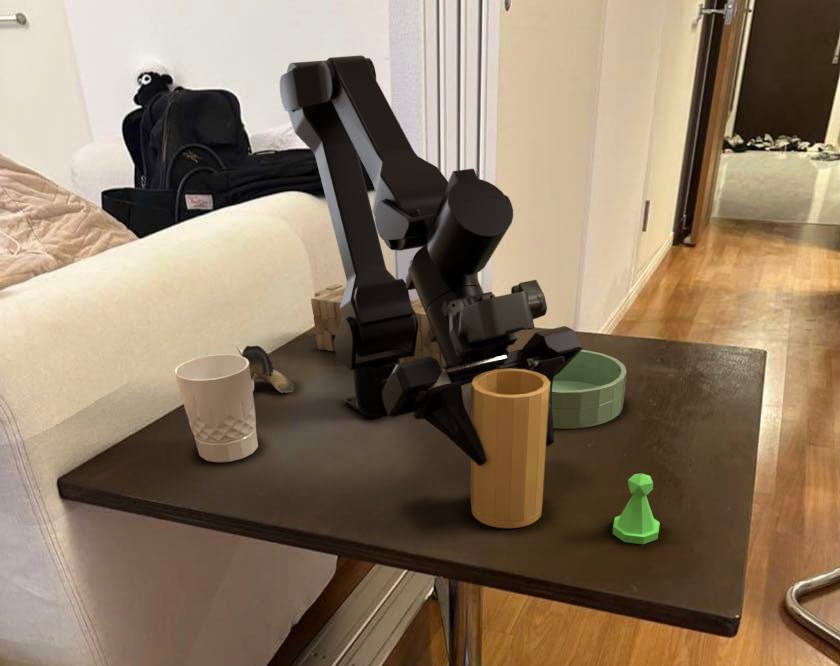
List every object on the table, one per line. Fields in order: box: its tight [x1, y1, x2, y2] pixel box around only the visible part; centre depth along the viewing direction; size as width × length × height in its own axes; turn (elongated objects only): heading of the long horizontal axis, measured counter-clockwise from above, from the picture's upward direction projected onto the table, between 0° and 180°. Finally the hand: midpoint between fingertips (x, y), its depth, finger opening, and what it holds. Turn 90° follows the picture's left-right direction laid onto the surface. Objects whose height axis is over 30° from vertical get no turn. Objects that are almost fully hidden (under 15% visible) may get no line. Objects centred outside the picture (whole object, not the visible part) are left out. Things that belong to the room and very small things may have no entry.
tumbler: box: [470, 369, 550, 529], centre depth 73 cm, size 7×7×13 cm
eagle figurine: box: [236, 345, 295, 394], centre depth 104 cm, size 8×7×9 cm
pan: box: [552, 349, 628, 430], centre depth 96 cm, size 14×14×4 cm
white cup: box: [174, 353, 259, 463], centre depth 88 cm, size 8×8×10 cm
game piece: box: [612, 473, 660, 545], centre depth 70 cm, size 4×4×6 cm
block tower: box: [310, 283, 446, 367], centre depth 112 cm, size 8×8×29 cm
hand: (516, 454), depth 71 cm, fingers closed on tumbler, 7 cm apart
